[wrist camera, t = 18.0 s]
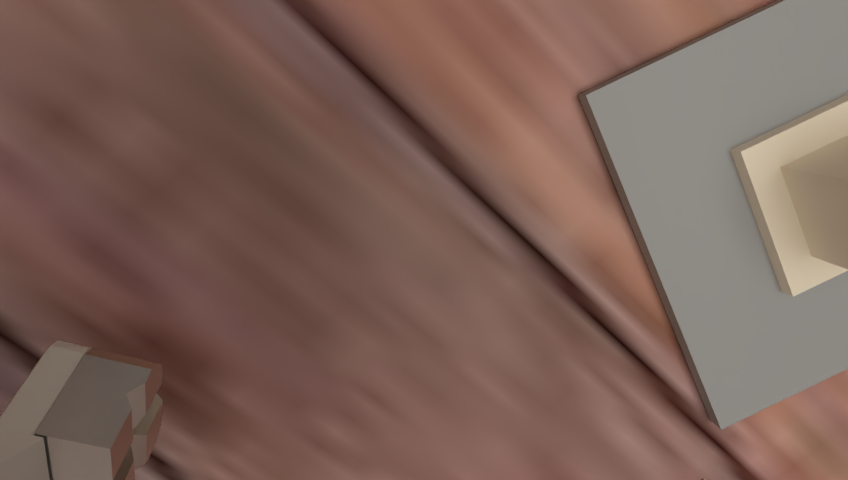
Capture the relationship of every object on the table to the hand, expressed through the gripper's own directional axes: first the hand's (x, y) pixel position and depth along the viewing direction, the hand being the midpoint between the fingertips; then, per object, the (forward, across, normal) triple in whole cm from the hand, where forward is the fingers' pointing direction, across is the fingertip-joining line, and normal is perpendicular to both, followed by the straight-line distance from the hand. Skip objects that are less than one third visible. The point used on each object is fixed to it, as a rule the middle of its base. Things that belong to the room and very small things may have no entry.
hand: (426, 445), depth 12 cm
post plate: (+26, -18, +8) cm, 33 cm away
